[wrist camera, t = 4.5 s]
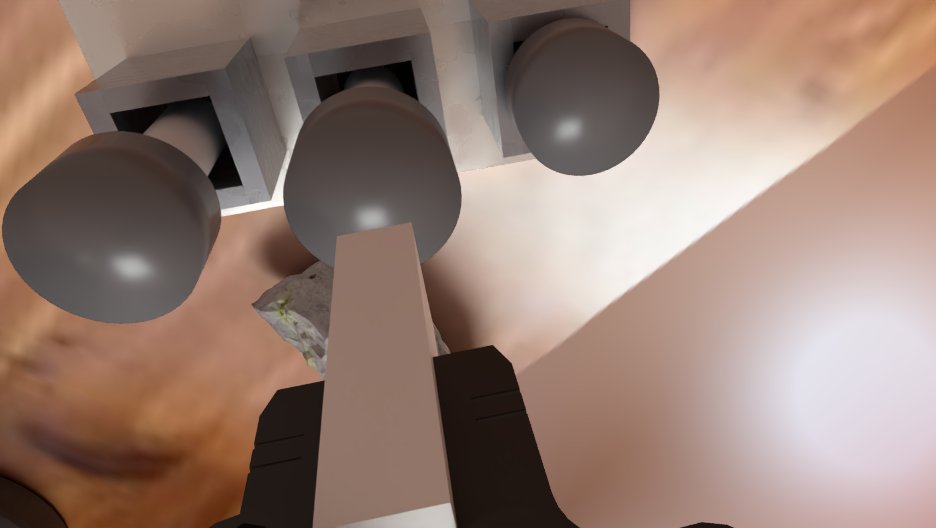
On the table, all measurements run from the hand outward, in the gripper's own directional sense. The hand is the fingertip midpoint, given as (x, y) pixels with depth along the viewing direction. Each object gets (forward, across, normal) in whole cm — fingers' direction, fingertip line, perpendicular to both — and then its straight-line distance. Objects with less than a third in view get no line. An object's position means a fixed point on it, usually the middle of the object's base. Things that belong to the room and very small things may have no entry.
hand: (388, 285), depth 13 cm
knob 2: (+13, 0, 0) cm, 14 cm away
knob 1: (+14, -7, 0) cm, 15 cm away
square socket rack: (+18, 0, 0) cm, 18 cm away
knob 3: (+17, +7, 0) cm, 19 cm away
